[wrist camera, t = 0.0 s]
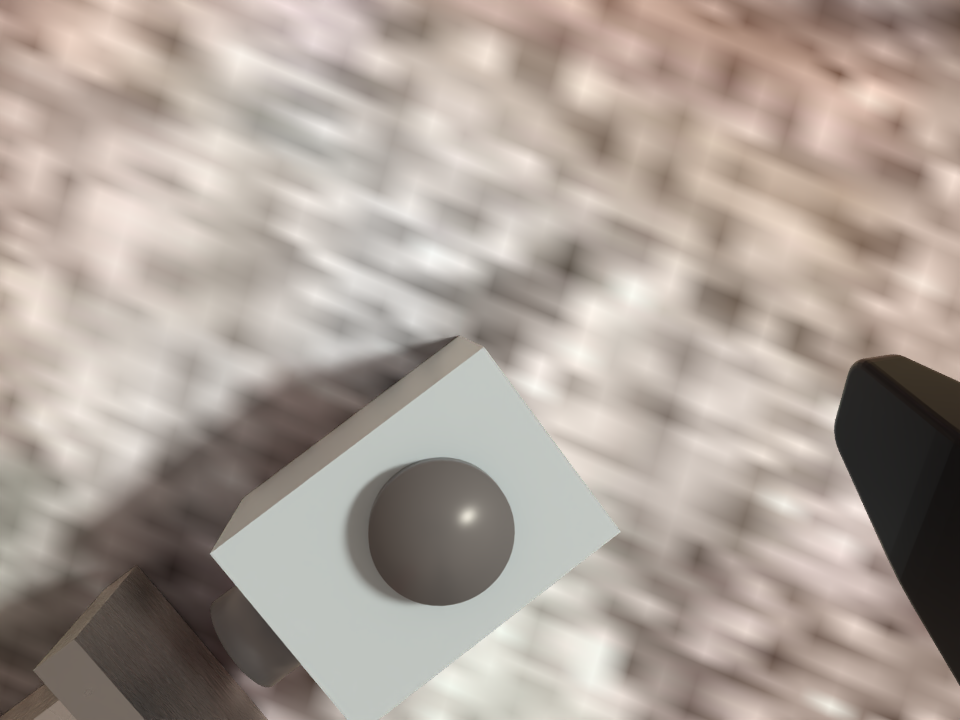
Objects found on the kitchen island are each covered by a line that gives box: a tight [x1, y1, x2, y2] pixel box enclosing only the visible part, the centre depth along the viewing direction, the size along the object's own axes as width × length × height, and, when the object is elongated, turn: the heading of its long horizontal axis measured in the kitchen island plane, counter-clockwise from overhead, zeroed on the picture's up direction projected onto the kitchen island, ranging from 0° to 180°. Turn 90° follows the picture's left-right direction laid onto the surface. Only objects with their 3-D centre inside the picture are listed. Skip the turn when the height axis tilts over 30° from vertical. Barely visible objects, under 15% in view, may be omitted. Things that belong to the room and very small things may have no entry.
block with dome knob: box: [210, 336, 621, 720], centre depth 21 cm, size 5×8×6 cm, turn 127°
